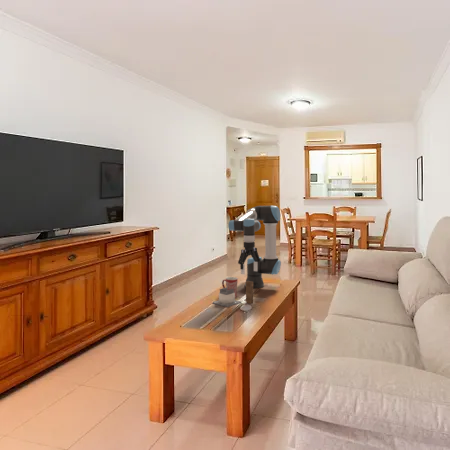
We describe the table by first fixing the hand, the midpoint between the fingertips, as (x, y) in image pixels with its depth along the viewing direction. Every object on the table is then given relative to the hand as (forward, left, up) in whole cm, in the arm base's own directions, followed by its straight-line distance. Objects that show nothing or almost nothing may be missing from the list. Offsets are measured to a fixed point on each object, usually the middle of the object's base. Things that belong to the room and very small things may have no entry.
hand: (249, 272), depth 287 cm
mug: (-5, -23, -21) cm, 32 cm away
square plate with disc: (+10, -12, -21) cm, 26 cm away
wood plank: (0, 0, -21) cm, 21 cm away
